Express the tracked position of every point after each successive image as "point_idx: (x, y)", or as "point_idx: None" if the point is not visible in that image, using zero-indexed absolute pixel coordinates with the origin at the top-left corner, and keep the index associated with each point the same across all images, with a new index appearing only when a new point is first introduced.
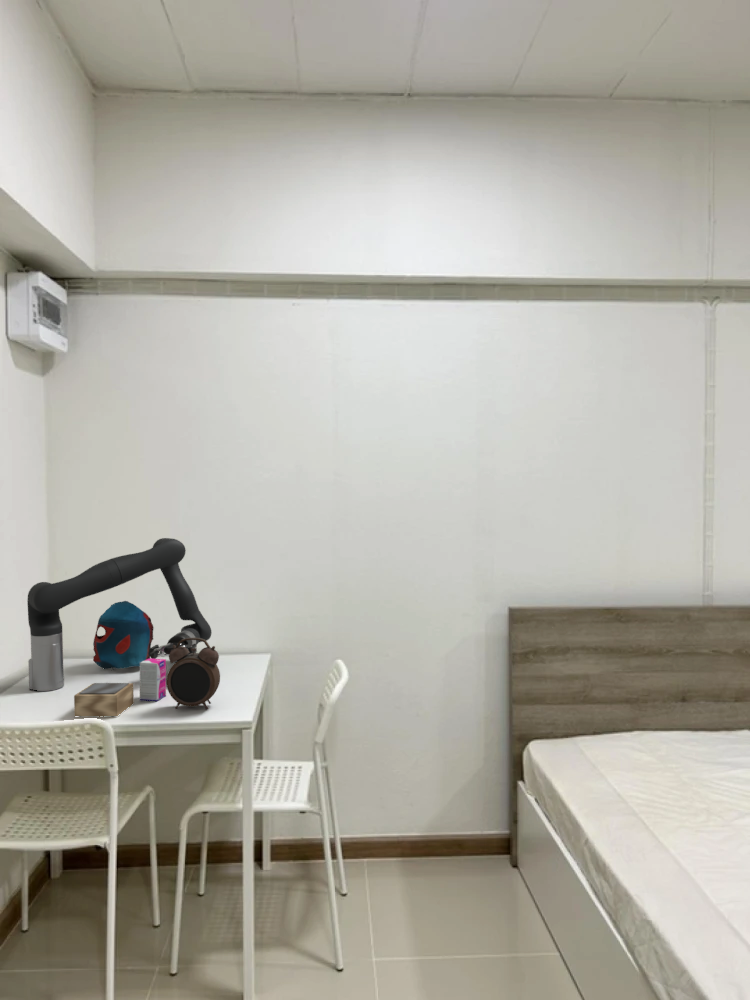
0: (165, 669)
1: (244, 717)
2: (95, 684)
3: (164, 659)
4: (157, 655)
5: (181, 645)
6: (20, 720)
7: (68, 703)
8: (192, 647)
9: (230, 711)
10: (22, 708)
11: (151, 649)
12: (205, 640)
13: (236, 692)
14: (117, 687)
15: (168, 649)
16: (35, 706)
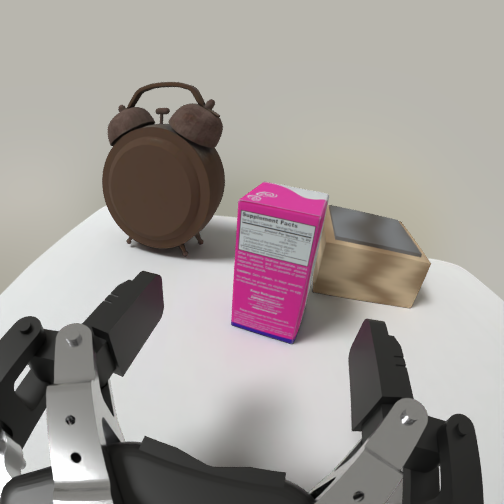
0: (236, 238)
1: (106, 207)
2: (410, 245)
3: (244, 197)
4: (357, 417)
5: (75, 411)
6: (451, 265)
7: (459, 318)
8: (11, 336)
9: (110, 222)
10: (496, 304)
11: (448, 420)
12: (137, 91)
13: (38, 293)
14: (344, 221)
15: (268, 479)
16: (490, 310)
